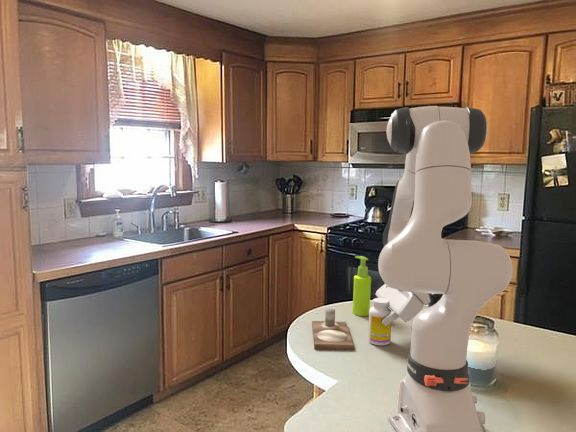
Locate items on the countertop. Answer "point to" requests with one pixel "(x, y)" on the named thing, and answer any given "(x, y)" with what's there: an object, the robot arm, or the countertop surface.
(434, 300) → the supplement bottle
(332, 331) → the board
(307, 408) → the countertop surface
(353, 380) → the countertop surface
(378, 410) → the countertop surface
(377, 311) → the supplement bottle
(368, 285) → the soap dispenser
